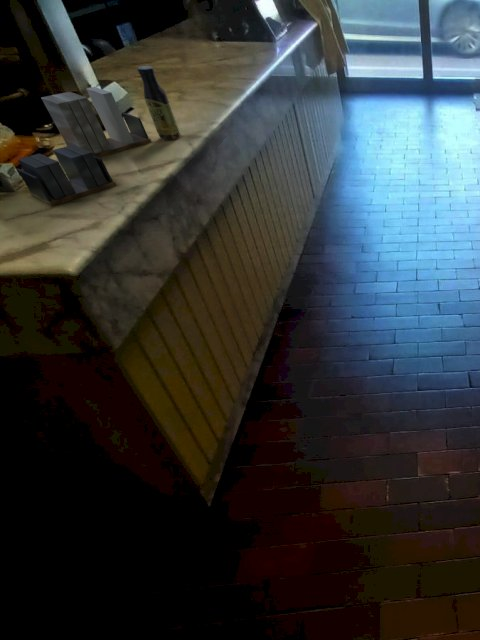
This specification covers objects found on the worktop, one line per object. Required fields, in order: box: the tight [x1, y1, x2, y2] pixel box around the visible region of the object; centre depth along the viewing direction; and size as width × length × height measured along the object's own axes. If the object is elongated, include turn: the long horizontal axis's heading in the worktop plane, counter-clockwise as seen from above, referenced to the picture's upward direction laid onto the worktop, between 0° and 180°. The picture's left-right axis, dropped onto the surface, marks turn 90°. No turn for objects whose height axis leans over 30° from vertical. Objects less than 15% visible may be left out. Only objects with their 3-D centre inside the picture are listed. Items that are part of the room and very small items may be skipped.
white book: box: [85, 86, 134, 145], centre depth 154 cm, size 2×9×14 cm, turn 58°
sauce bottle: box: [136, 65, 181, 141], centre depth 158 cm, size 7×6×20 cm
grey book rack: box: [16, 145, 117, 207], centre depth 132 cm, size 16×10×9 cm, turn 148°
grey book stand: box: [40, 91, 152, 158], centre depth 152 cm, size 20×10×15 cm, turn 148°
